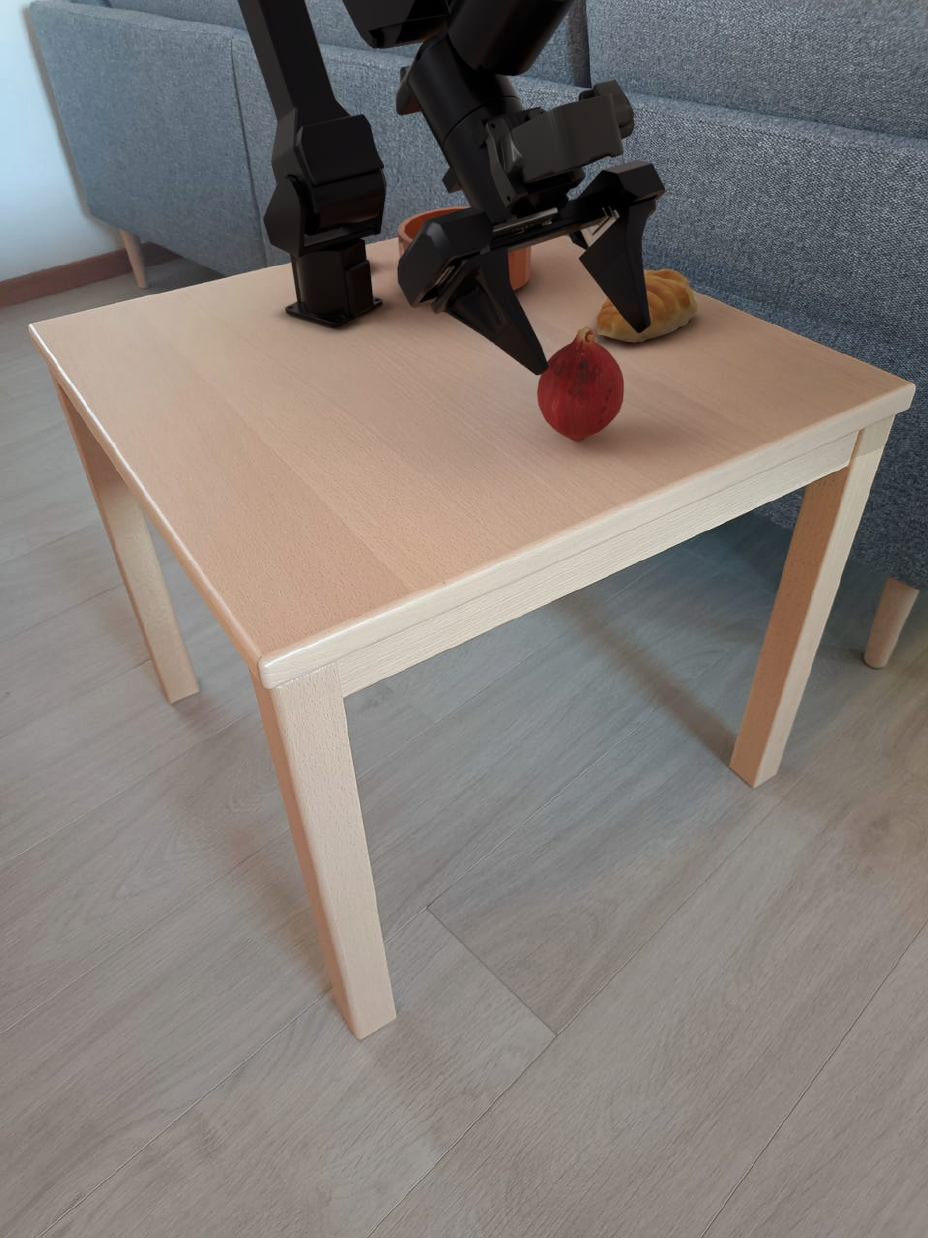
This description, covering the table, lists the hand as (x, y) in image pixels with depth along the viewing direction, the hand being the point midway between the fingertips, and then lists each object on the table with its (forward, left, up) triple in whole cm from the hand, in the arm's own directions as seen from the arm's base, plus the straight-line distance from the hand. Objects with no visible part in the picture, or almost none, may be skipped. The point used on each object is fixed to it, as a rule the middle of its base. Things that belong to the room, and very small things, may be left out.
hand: (596, 350), depth 57 cm
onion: (-1, 0, -7) cm, 7 cm away
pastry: (-6, +20, -7) cm, 22 cm away
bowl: (-25, +20, -7) cm, 33 cm away
